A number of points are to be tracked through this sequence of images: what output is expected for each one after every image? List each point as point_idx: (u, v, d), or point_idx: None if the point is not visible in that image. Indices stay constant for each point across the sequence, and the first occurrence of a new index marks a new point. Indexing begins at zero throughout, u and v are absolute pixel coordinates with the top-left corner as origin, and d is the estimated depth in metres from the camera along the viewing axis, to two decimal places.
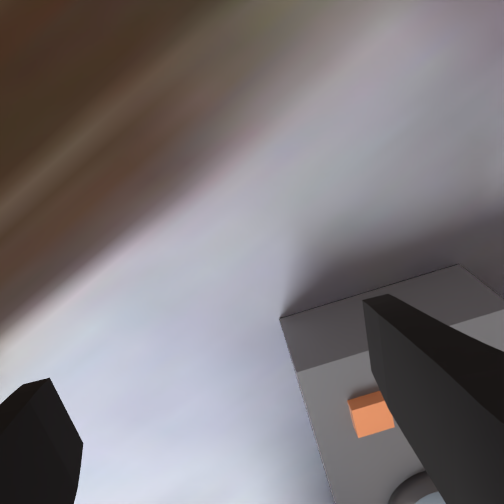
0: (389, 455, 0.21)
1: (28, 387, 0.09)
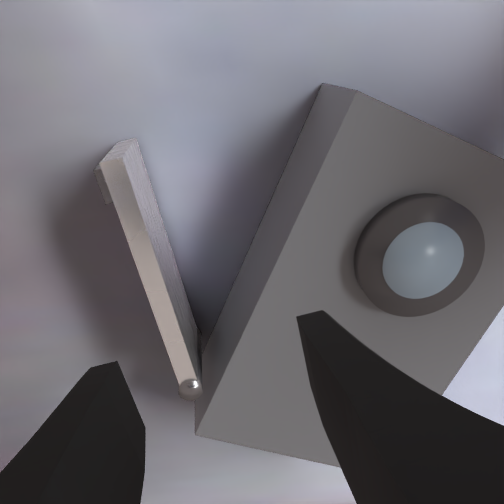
0: (396, 352, 0.18)
1: (98, 369, 0.10)
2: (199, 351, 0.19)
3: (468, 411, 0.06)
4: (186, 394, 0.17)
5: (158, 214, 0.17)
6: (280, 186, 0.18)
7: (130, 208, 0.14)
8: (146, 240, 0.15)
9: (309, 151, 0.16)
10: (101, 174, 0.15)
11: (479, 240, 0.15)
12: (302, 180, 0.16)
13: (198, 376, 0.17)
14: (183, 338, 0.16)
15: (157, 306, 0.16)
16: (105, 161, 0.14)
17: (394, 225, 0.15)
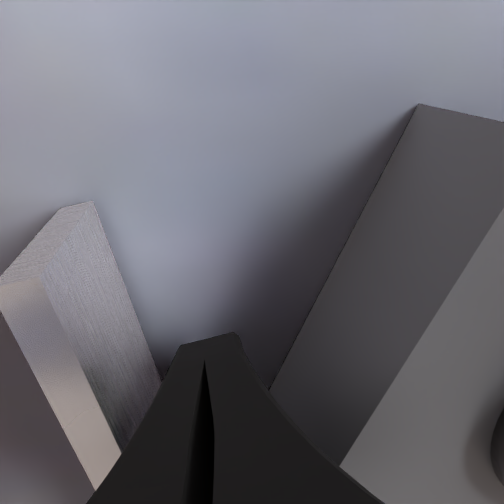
0: None
1: (191, 346, 0.10)
2: None
3: (313, 451, 0.06)
4: None
5: (133, 327, 0.10)
6: (339, 275, 0.11)
7: (64, 370, 0.07)
8: (100, 423, 0.07)
9: (407, 233, 0.09)
10: None
11: None
12: (398, 290, 0.08)
13: None
14: None
15: None
16: (3, 284, 0.06)
17: None
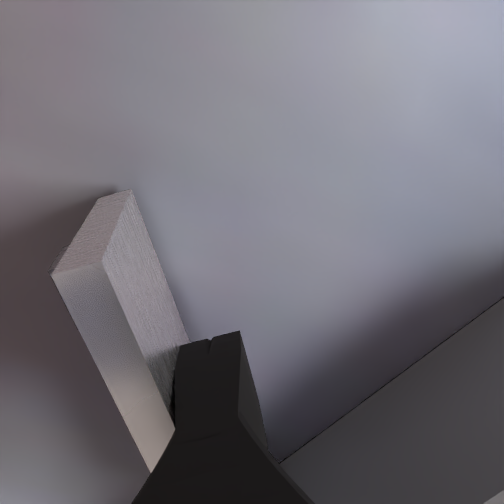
0: None
1: (224, 338, 0.10)
2: None
3: (267, 462, 0.06)
4: None
5: (175, 316, 0.10)
6: (474, 338, 0.12)
7: (124, 357, 0.07)
8: (159, 410, 0.07)
9: None
10: None
11: None
12: None
13: None
14: None
15: None
16: (65, 270, 0.06)
17: None
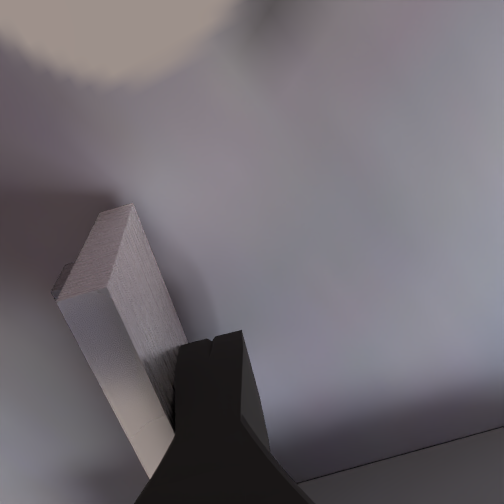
0: None
1: (226, 337, 0.10)
2: None
3: (267, 462, 0.06)
4: None
5: (178, 330, 0.10)
6: (493, 446, 0.14)
7: (130, 380, 0.07)
8: (166, 432, 0.07)
9: None
10: None
11: None
12: None
13: None
14: None
15: None
16: (69, 296, 0.06)
17: None
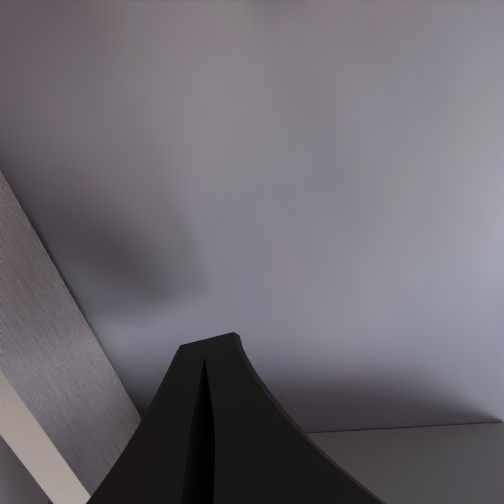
0: None
1: (191, 346, 0.10)
2: None
3: (314, 450, 0.06)
4: None
5: (31, 247, 0.10)
6: (392, 441, 0.14)
7: None
8: None
9: (477, 483, 0.13)
10: None
11: None
12: None
13: None
14: (81, 478, 0.09)
15: (13, 433, 0.08)
16: None
17: None
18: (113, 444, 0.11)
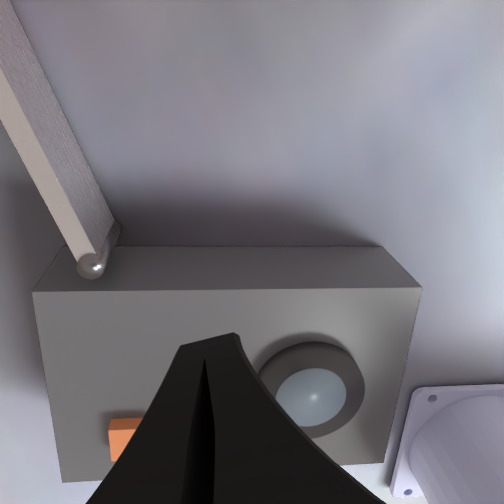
0: None
1: (191, 346, 0.10)
2: (110, 235, 0.17)
3: (314, 450, 0.06)
4: (86, 271, 0.15)
5: (40, 75, 0.16)
6: (296, 251, 0.20)
7: None
8: None
9: (347, 266, 0.18)
10: None
11: (339, 424, 0.19)
12: (330, 274, 0.18)
13: (100, 252, 0.15)
14: (70, 202, 0.14)
15: (30, 160, 0.14)
16: None
17: (334, 363, 0.17)
18: (92, 210, 0.16)
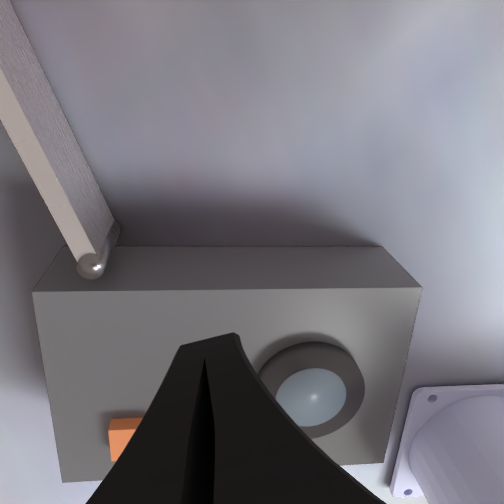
0: None
1: (191, 346, 0.10)
2: (110, 235, 0.17)
3: (314, 450, 0.06)
4: (86, 271, 0.15)
5: (40, 75, 0.16)
6: (296, 251, 0.20)
7: None
8: None
9: (347, 266, 0.18)
10: None
11: (339, 424, 0.19)
12: (330, 274, 0.18)
13: (100, 252, 0.15)
14: (70, 202, 0.14)
15: (30, 160, 0.14)
16: None
17: (334, 363, 0.17)
18: (92, 210, 0.16)
